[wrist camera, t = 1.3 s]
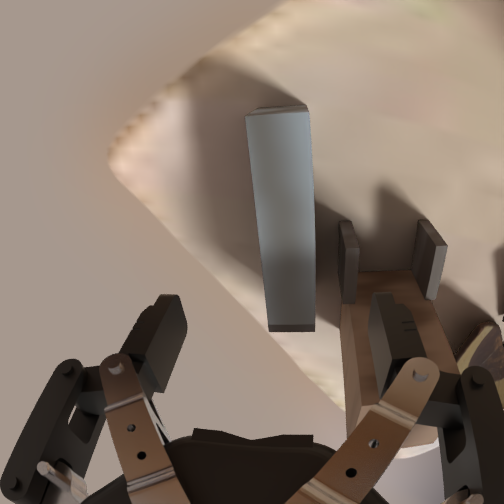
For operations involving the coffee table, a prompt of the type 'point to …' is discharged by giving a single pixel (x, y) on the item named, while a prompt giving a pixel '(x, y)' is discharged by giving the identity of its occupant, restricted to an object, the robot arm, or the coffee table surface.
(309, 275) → the gray rectangular block
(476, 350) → the cracked wood slice
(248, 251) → the coffee table surface
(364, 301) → the dark u-channel
